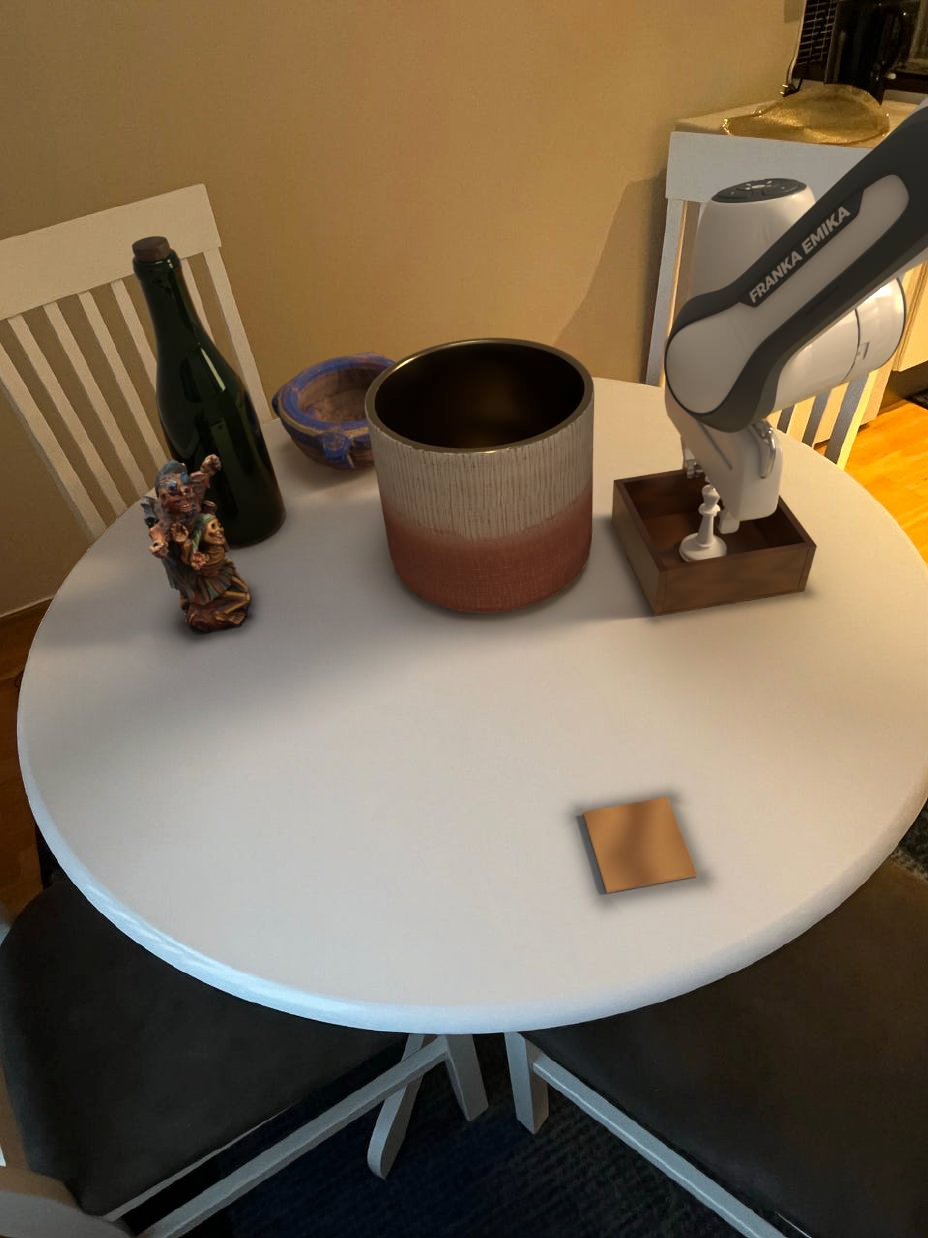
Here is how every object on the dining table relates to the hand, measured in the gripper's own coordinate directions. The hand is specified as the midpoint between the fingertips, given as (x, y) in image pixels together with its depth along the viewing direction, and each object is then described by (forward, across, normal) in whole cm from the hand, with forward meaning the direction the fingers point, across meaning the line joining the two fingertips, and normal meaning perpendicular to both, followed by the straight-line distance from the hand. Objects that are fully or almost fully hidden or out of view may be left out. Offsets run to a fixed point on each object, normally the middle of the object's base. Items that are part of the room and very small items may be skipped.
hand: (708, 500), depth 84 cm
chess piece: (+7, 0, 0) cm, 7 cm away
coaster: (+7, -32, +17) cm, 37 cm away
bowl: (+8, +30, +35) cm, 46 cm away
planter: (+8, +6, +22) cm, 24 cm away
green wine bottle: (+8, +19, +50) cm, 54 cm away
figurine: (+8, +3, +51) cm, 51 cm away
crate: (+7, 0, 0) cm, 7 cm away
